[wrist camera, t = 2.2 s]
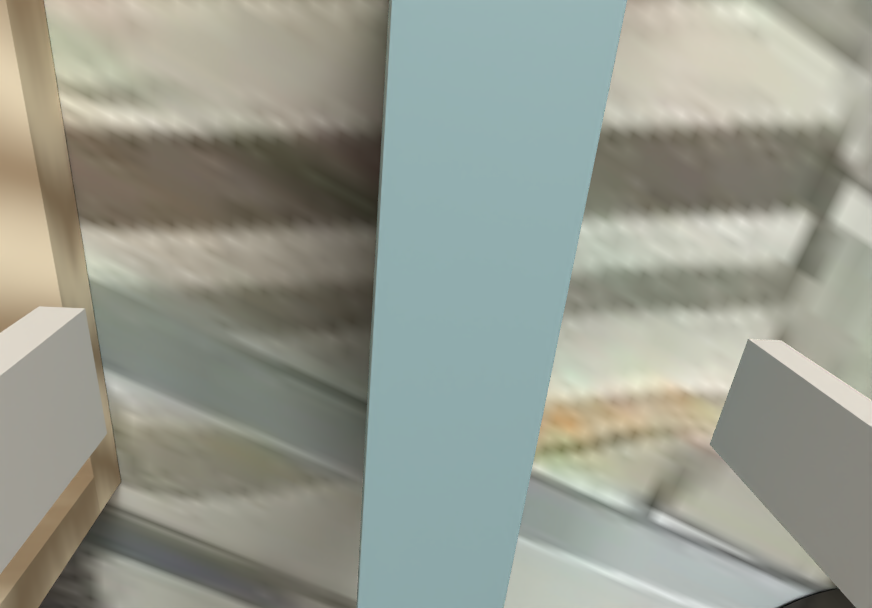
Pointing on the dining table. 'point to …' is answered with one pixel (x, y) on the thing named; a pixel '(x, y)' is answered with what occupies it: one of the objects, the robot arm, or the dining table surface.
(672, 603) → the dining table surface
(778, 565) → the dining table surface
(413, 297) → the door
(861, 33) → the dining table surface
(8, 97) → the hinge base
